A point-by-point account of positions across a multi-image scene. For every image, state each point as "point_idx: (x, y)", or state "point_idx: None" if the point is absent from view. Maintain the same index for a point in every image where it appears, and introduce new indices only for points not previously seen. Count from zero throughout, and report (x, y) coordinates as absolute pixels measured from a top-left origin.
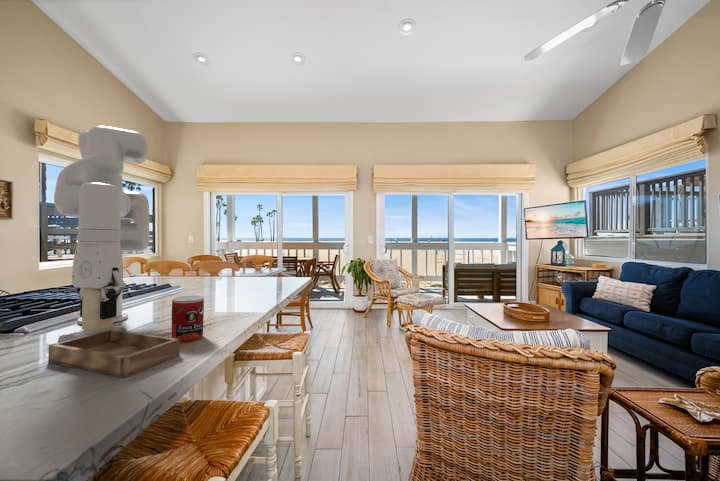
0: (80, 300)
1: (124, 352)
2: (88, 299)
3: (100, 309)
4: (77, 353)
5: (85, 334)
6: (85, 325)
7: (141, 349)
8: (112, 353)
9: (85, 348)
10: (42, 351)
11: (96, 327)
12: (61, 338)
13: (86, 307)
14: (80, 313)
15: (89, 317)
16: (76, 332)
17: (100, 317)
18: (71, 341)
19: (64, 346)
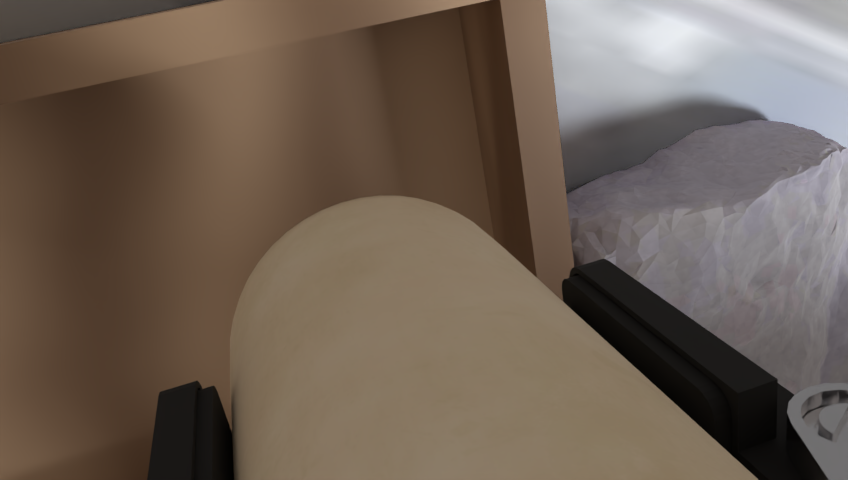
0: (758, 372)
1: (149, 361)
2: (393, 459)
3: (176, 472)
4: (97, 25)
5: (633, 266)
6: (342, 220)
7: (121, 464)
8: (202, 296)
9: (491, 204)
10: (785, 29)
11: (241, 295)
12: (800, 148)
13: (388, 338)
14: (616, 274)
15: (309, 292)
16: (751, 238)
17: (182, 391)
18: (513, 119)
19: (358, 5)
